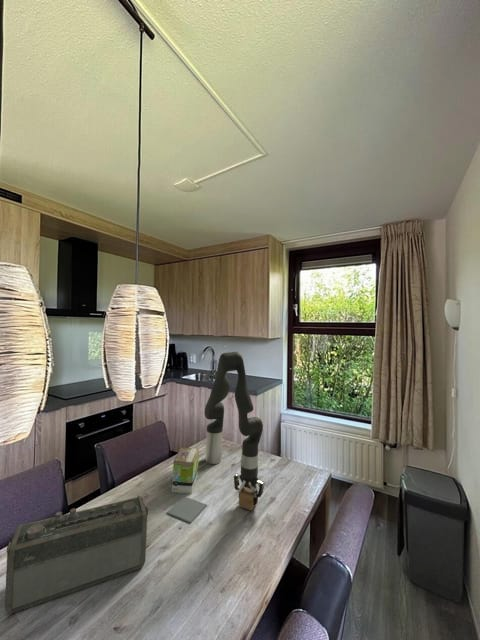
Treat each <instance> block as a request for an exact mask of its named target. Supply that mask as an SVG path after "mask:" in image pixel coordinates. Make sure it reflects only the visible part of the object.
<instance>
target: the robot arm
mask: <svg viewBox="0 0 480 640" xmlns="http://www.w3.org/2000/svg"><path fill="white" fill-rule="evenodd" d="M217 363H218V364H217V368H216V375H215V377H214V381H213V383H212V388H211V390H210V394H209V397H208V400H207V402H206V404H205V407H204V417H205V419H207V420H213V421H212V422H210V423H208V424H207V426H206V436H205V437H206V441H205V462H206V464H211V465H216V464H217V465H218V464H220V463H221V462H222V458H223V427H224V418H225V406H224V403H223V402H222V401H224V400H225V399H226V398H227V397H228V395H229V392H230V389H231V382H230V380H229V378H228V377H227V376H226V374H227V373H229V372H237V382H236V386H235V390H234V400H235V401H234V402H235V404H236V408H237V411H238V430H239V432H240V435H242V436H243V437H244V436H245V437H246V438H245V439H243V440H242V444H241V446H242V447H241V457H240V474H239V473H235V475H234V476H233V483H234V485H233V486H234V490H235V491H237V492H238V493H239V492H240V491H241V490H242V489H243V488H244V487H246V488H249V489H251V491H252V492H253V494H254V504H253V505H254V507H256V505H257V504H258V502H259V498H261V497H262V495H263V492H264V486H265V481H264V480H262V481H261V480H259V478H258V476H259V475H258V474H259V470H258V469H259V445H260V441H261V438H262V435H263V431H264V424H263V423H264V422H263V421H262V419H261V418H260V417H258V416H254V417H253V416H252V417H248V416H249V415H248V414H249V413H252V412H253V411H254V405H253V401H252V397H251V395H250V390H249V387H248V379H247V374H246V367H245V362H244V357H243V354H241V352H239V351H230V352H229V351H228V352H223V353H222V354H220V356H219V359H218V362H217ZM240 482H241V484H240Z"/></svg>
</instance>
